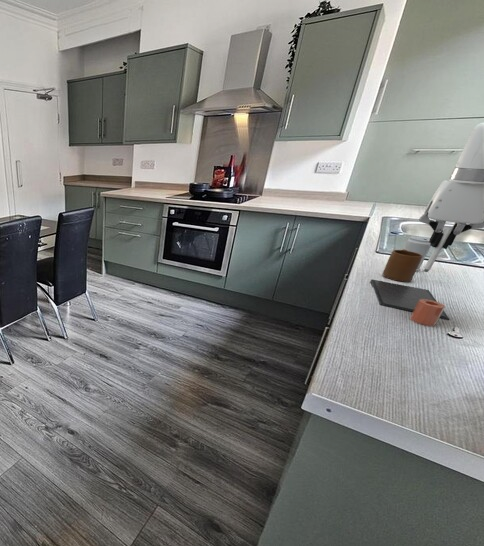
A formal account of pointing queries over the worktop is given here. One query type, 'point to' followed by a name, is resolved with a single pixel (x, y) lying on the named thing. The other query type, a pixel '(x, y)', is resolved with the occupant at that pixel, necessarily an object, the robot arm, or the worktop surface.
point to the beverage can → (418, 247)
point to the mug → (402, 265)
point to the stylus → (437, 249)
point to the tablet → (401, 296)
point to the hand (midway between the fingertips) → (438, 246)
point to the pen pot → (427, 312)
